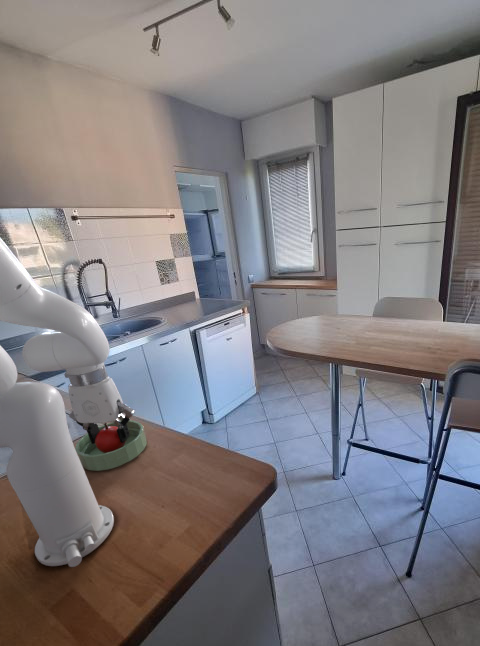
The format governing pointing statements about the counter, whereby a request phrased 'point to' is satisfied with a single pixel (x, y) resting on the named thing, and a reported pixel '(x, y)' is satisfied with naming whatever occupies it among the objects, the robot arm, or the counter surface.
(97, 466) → the bowl
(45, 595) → the counter surface
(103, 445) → the apple
